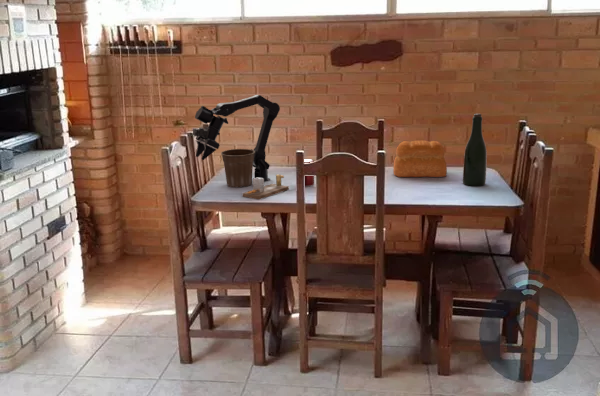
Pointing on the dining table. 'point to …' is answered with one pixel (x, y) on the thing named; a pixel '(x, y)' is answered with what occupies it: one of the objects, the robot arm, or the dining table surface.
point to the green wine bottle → (475, 156)
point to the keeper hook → (278, 180)
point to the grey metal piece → (257, 185)
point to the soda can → (309, 179)
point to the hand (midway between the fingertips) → (199, 158)
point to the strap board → (266, 191)
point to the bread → (420, 159)
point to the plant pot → (238, 166)
